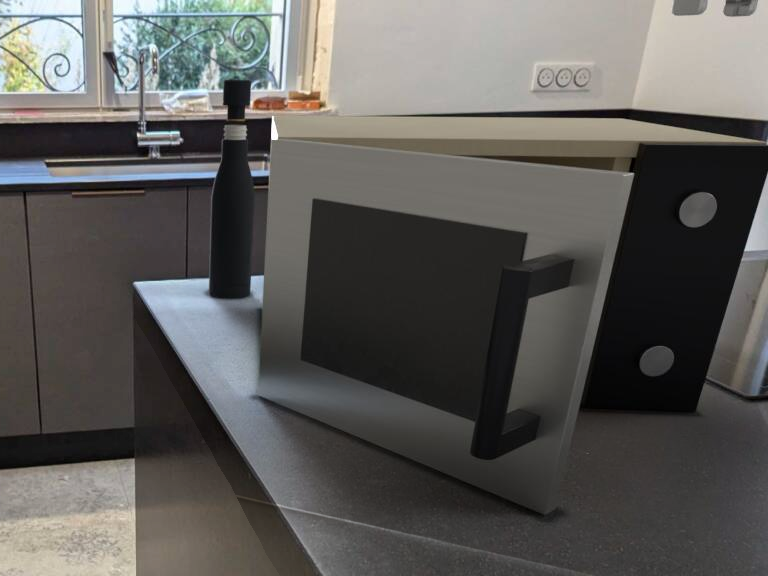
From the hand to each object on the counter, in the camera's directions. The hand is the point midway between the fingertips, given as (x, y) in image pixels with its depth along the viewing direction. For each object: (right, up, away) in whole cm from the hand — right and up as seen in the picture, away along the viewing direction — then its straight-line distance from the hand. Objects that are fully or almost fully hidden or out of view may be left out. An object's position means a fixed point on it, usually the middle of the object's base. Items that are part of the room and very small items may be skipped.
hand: (713, 16), depth 61 cm
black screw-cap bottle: (-31, -8, +66) cm, 73 cm away
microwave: (-7, -20, +40) cm, 45 cm away
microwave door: (-23, -33, +14) cm, 42 cm away
